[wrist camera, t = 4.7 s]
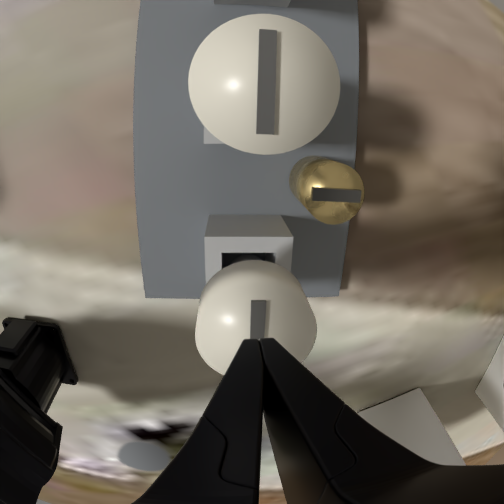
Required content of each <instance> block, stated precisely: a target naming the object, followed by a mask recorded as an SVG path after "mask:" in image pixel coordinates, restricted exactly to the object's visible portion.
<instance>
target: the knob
mask: <svg viewBox="0 0 504 504" xmlns="http://www.w3.org/2000/svg"><path fill="white" fill-rule="evenodd" d="M316 335H317V324H316V319H315V316H314V314H313V311H312V309H311V307H310V305H309V302H308V300H307V298H306V296H305V293H304V291H303V289H302V287H301V284H300V283H299V281H298V280H297V279H296V277H295V276H294V275H293V274H292V273H291V272H289V271H288V270H287V269H285V268H284V267H282V266H280V265H277V264H275V263H272V262H268V261H263V260H261V259H260V258H259V257H257V256H254V255H242V256H239V257H237V258H236V259H234V260H233V261H232V263H231V264H230V265H229V266H227V267H225V268H223V269H221V270H220V271H218V272H217V273H216V274H215V275H213V277H212V278H211V279H210V280H209V281H208V282H207V284H206V285H205V287H204V289H203V291H202V293H201V296H200V301H199V308H198V315H197V322H196V329H195V341H196V346H197V349H198V351H199V353H200V355H201V357H202V358H203V360H204V361H205V362H206V363H207V364H208V365H209V366H210V367H211V368H212V369H214V370H215V371H217V372H218V373H220V374H222V375H225V373H226V371H227V369H228V367H229V365H230V363H231V361H232V360H233V358H234V356H235V354H236V352H237V350H238V348H239V346H240V344H241V343H242V341H243V340H244V339H254V338H256V339H258V340H259V339H260V338H274V339H275V340H277V341H278V342H279V343H280V344H281V345H282V346H283V347H284V348H285V349H286V350H287V351H288V352H289V353H290V354H291V355H293V356H294V357H295V358H296V359H297V360H298V361H299V362H300V363H302V362H303V361H304V359H305V358H306V357H307V356H308V354H309V353H310V351H311V350H312V348H313V345H314V343H315V340H316Z"/></svg>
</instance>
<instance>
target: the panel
mask: <svg viewBox="0 0 504 504" xmlns="http://www.w3.org/2000/svg"><path fill="white" fill-rule="evenodd" d="M251 14H273V15H279V16H283V17H287V18H290V19H292V20H295V21H297V22H299V23H301V24H303V25H305V26H306V27H308V28H309V29H311V30H312V31H313V32H314V33H316V34H317V35H318V36H319V37H320V38H321V39H322V40H323V42H324V43H325V44H326V45H327V47H328V48H329V50H330V51H331V53H332V55H333V57H334V59H335V61H336V64H337V67H338V71H339V76H340V97H339V101H338V105H337V108H336V111H335V113H334V115H333V117H332V119H331V121H330V122H329V124H328V125H327V126H326V128H325V129H324V130H323V131H322V132H321V133H320V134H319V135H318V136H317V137H316V138H314V139H313V140H312V141H310V142H309V143H307V144H305V145H304V146H302V147H300V148H297V149H295V150H292V151H289V152H285V153H280V154H271V155H262V154H253V153H248V152H244V151H241V150H238V149H235V148H233V147H231V146H229V145H227V144H225V143H223V142H222V141H220V140H219V139H217V138H216V137H215V136H214V135H213V134H211V133H210V132H209V131H208V130H207V128H206V127H205V126H204V125H203V124H202V122H201V121H200V119H199V118H198V116H197V114H196V112H195V110H194V108H193V106H192V103H191V100H190V95H189V89H188V77H189V70H190V66H191V62H192V59H193V57H194V55H195V52H196V51H197V49H198V47H199V46H200V44H201V43H202V42H203V41H204V39H205V38H206V37H207V36H208V35H209V34H210V33H211V32H212V31H213V30H215V29H216V28H218V27H219V26H220V25H222V24H224V23H226V22H228V21H230V20H232V19H235V18H238V17H241V16H245V15H251ZM358 96H359V26H358V2H357V0H141V2H140V11H139V20H138V30H137V42H136V56H135V75H134V107H133V144H134V177H135V197H136V212H137V225H138V236H139V247H140V257H141V266H142V274H143V282H144V290H145V297H146V298H186V299H200V296H201V293H202V291H203V289H204V287H205V285H206V284H207V282H208V281H209V280H210V279H211V278H212V277H213V275H215V274H216V273H217V272H218V271H220V270H221V269H223V268H225V267H227V266H229V265H230V264H231V263H232V261H233V260H234V259H236V258H237V257H239V256H242V255H254V256H257V257H259V258H260V259H261V260H263V261H268V262H272V263H275V264H277V265H280V266H282V267H284V268H285V269H287V270H288V271H289V272H291V273H292V274H293V275H294V276H295V277H296V279H297V280H298V281H299V283H300V284H301V287H302V289H303V291H304V293H305V296H306V297H332V296H339V291H340V285H341V278H342V272H343V265H344V258H345V251H346V243H347V236H348V228H349V220H348V221H346V222H344V223H341V224H336V225H331V224H325V223H323V222H320V221H319V220H317V219H316V218H315V217H314V216H313V215H312V214H311V213H310V212H309V211H308V210H307V209H306V208H305V207H304V206H303V205H302V204H301V203H300V202H299V201H298V200H297V199H296V197H295V196H294V195H293V193H292V191H291V189H290V185H289V176H290V173H291V170H292V168H293V167H294V165H295V164H296V163H297V162H298V161H299V160H301V159H302V158H304V157H307V156H312V155H316V156H321V157H324V158H328V159H331V160H334V161H337V162H340V163H343V164H346V165H348V166H350V167H351V168H353V169H354V168H355V155H356V140H357V122H358Z"/></svg>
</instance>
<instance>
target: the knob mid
mask: <svg viewBox="0 0 504 504" xmlns="http://www.w3.org/2000/svg"><path fill="white" fill-rule="evenodd" d="M188 89H189V95H190V100H191V103H192V106H193V108H194V110H195V112H196V114H197V116H198V118H199V119H200V121H201V122H202V124H203V125H204V126H205V127H206V128H207V130H208V131H209V132H210V133H211V134H213V135H214V136H215V137H216V138H217V139H219V140H220V141H222V142H223V143H225V144H227V145H229V146H231V147H233V148H235V149H238V150H241V151H244V152H248V153H253V154H262V155H271V154H280V153H285V152H289V151H292V150H295V149H297V148H300V147H302V146H304V145H305V144H307V143H309V142H310V141H312V140H313V139H314V138H316V137H317V136H318V135H319V134H320V133H321V132H322V131H323V130H324V129H325V128H326V126H327V125H328V124H329V122H330V121H331V119H332V117H333V115H334V113H335V111H336V108H337V105H338V101H339V97H340V76H339V71H338V67H337V64H336V61H335V59H334V57H333V55H332V53H331V51H330V50H329V48H328V47H327V45H326V44H325V43H324V42H323V40H322V39H321V38H320V37H319V36H318V35H317V34H316V33H314V32H313V31H312V30H311V29H309V28H308V27H306V26H305V25H303V24H301V23H299V22H297V21H295V20H292V19H290V18H287V17H283V16H279V15H273V14H251V15H245V16H241V17H238V18H235V19H232V20H230V21H228V22H226V23H224V24H222V25H220V26H219V27H218V28H216V29H215V30H213V31H212V32H211V33H210V34H209V35H208V36H207V37H206V38H205V39H204V41H203V42H202V43H201V44H200V46H199V47H198V49H197V51H196V52H195V55H194V57H193V59H192V62H191V66H190V70H189V77H188Z"/></svg>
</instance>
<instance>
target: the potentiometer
mask: <svg viewBox="0 0 504 504" xmlns="http://www.w3.org/2000/svg"><path fill="white" fill-rule="evenodd" d="M289 185H290V189H291V191H292V193H293V195H294V196H295V197H296V199H297V200H298V201H299V202H300V203H301V204H302V205H303V206H304V207H305V208H306V209H307V210H308V211H309V212H310V213H311V214H312V215H313V216H314V217H315V218H316V219H317V220H319V221H320V222H323V223H325V224H331V225H336V224H341V223H344V222H346V221H348V220H350V219H351V218H352V217H354V216H355V215H356V214H357V212H358V211H359V209H360V208H361V206H362V203H363V200H364V185H363V182H362V179H361V177H360V176H359V174H358V173H357V172H356V171H355V170H354V169H353V168H351V167H350V166H348V165H346V164H343V163H340V162H337V161H334V160H331V159H328V158H324V157H321V156H316V155H312V156H307V157H304V158H302V159H301V160H299V161H298V162H297V163H296V164H295V165H294V167H293V168H292V170H291V173H290V176H289Z"/></svg>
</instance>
